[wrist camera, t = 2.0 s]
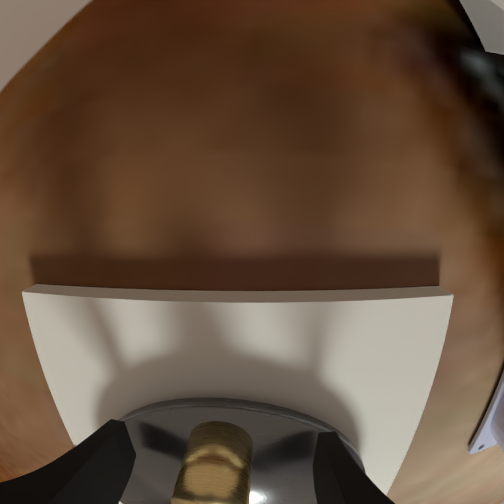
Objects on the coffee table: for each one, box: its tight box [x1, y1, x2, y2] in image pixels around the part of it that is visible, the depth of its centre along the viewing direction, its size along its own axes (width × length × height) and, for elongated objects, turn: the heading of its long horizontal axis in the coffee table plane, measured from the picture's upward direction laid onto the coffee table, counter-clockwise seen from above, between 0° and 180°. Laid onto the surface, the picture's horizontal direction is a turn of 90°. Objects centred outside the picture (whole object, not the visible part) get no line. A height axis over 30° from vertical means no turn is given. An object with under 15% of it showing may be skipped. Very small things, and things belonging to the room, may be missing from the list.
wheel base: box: [22, 284, 454, 504], centre depth 13 cm, size 18×20×2 cm
